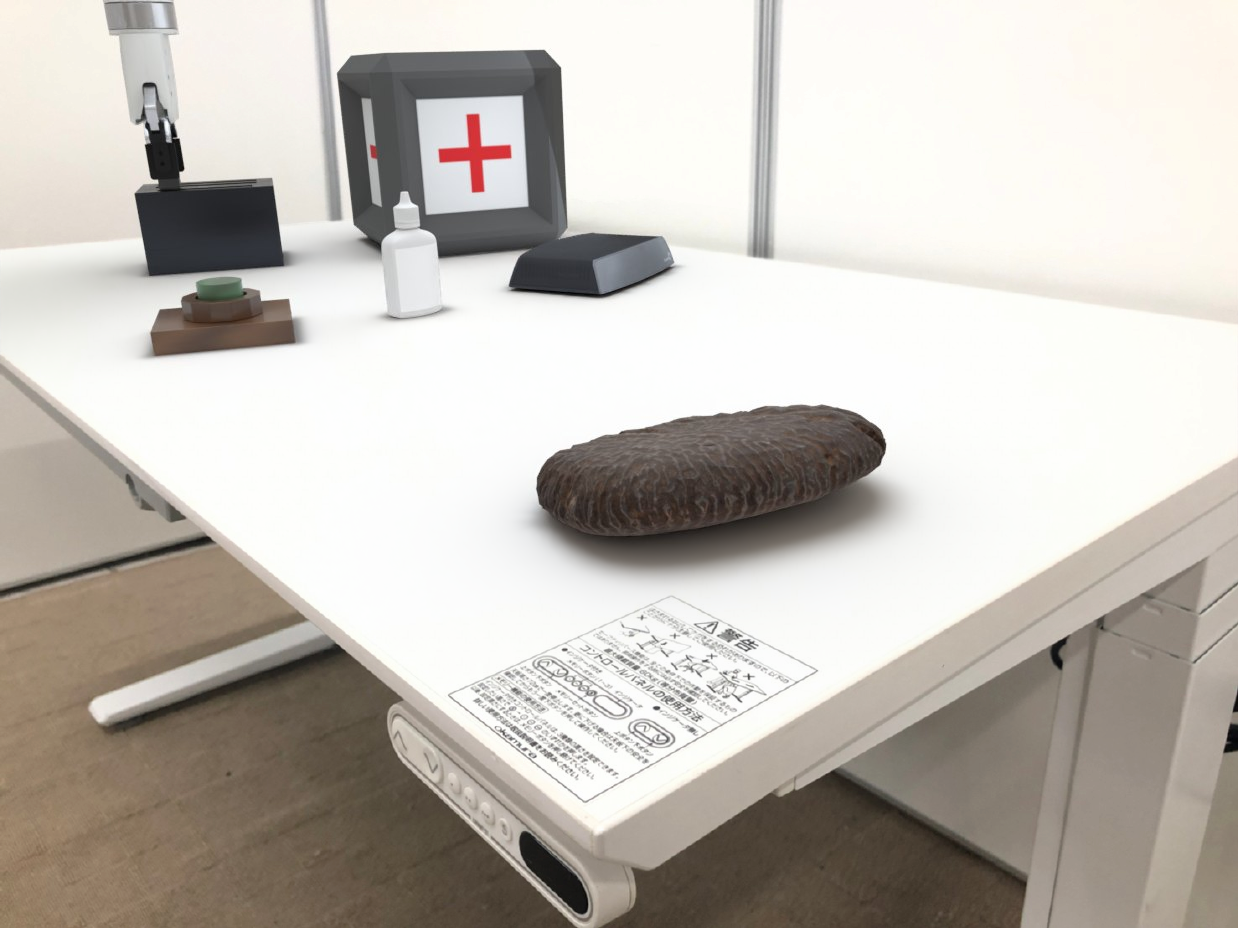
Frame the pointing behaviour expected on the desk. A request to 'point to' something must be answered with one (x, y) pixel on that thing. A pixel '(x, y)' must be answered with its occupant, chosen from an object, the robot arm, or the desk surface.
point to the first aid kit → (457, 146)
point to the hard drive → (591, 263)
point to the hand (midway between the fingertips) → (168, 175)
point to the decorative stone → (708, 469)
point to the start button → (219, 288)
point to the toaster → (209, 226)
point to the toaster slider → (169, 183)
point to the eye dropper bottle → (410, 265)
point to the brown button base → (222, 324)
